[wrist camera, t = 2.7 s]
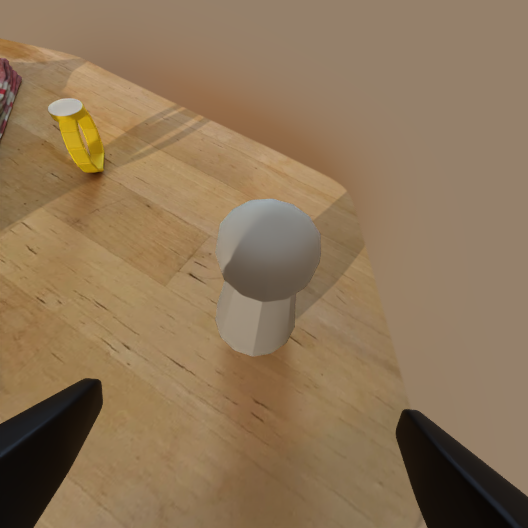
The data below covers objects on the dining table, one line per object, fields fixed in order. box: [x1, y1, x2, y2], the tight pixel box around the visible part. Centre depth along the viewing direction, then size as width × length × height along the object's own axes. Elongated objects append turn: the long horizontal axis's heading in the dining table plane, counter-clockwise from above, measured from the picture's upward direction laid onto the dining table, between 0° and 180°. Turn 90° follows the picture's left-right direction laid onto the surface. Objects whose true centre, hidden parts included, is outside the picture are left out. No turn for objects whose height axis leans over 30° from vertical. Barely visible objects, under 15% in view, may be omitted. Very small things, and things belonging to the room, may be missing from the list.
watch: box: [48, 98, 105, 173], centre depth 25 cm, size 6×3×6 cm, turn 14°
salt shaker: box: [215, 199, 321, 356], centre depth 15 cm, size 6×6×13 cm
